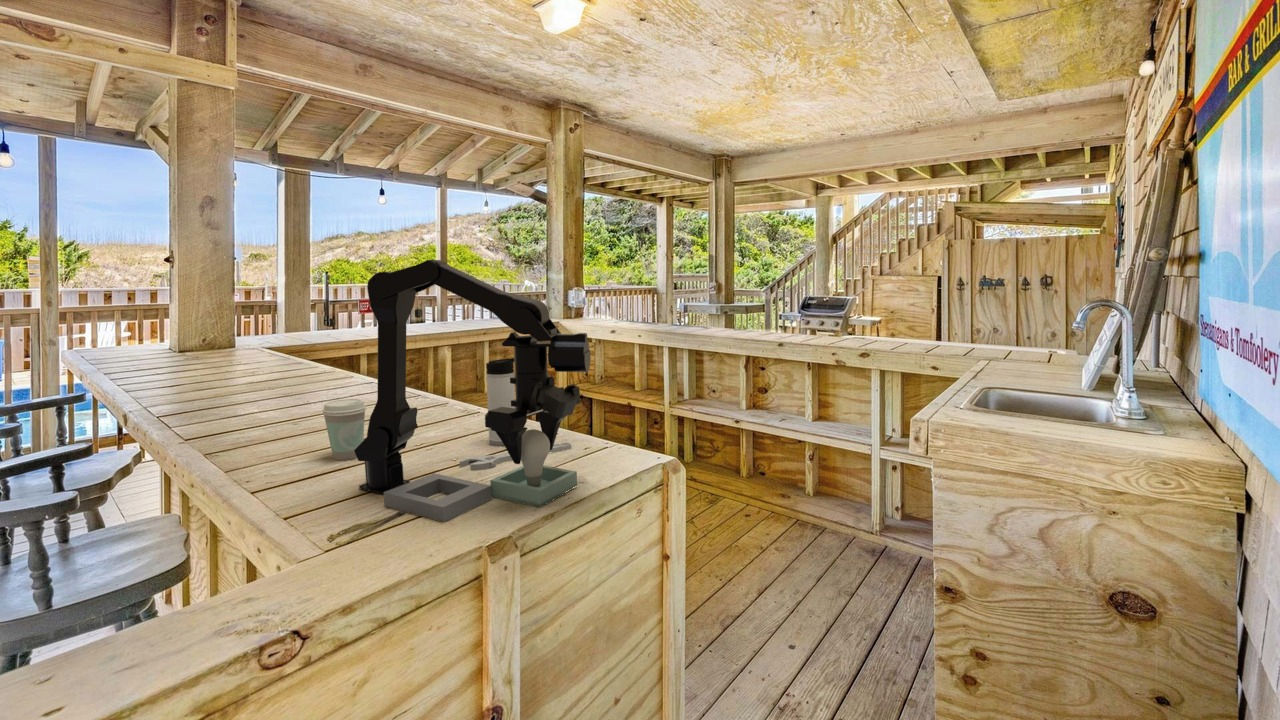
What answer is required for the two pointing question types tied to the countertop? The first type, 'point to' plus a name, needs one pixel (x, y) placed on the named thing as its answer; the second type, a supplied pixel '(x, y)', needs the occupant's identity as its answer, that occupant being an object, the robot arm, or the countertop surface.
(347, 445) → the coffee cup
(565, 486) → the parts tray
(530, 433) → the lightbulb
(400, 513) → the tongs
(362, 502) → the countertop surface
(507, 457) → the adjustable wrench
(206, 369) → the countertop surface
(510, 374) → the travel mug
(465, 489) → the socket board
